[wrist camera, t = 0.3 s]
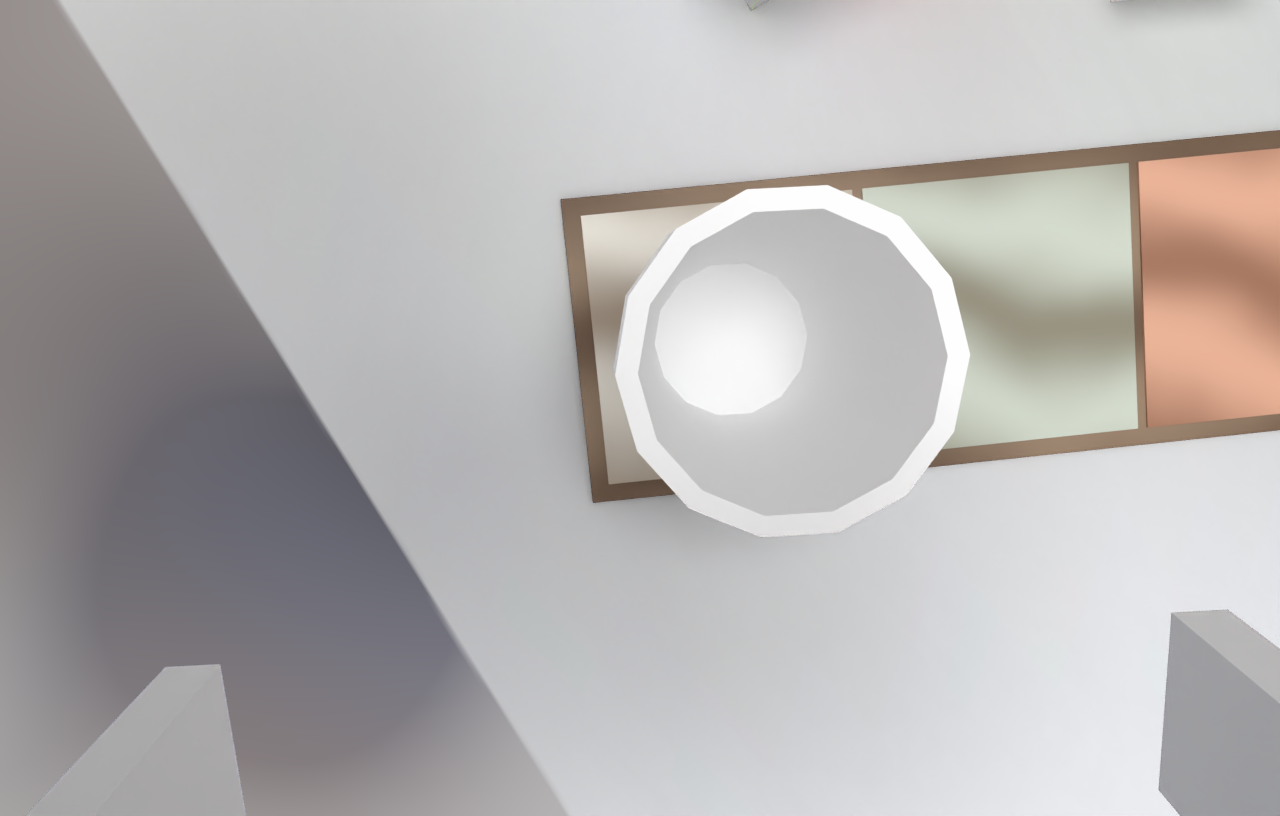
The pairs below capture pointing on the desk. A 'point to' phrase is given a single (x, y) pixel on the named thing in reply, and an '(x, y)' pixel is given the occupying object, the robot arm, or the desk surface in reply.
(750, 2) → the puzzle toy
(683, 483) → the foam cup
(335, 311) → the desk surface
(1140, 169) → the color swatch strip
